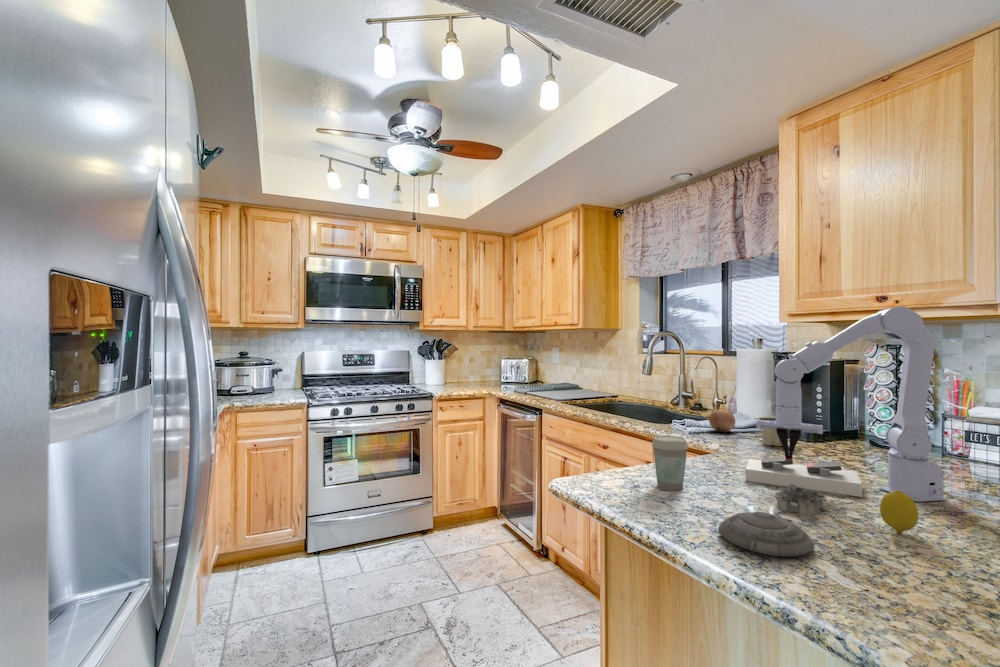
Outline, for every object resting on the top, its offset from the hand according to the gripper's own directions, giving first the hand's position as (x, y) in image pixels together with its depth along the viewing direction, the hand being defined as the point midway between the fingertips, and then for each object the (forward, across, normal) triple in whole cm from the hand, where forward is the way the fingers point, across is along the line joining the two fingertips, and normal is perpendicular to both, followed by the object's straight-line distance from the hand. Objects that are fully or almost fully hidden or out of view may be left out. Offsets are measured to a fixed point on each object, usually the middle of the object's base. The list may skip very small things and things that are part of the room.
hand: (788, 458), depth 122 cm
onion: (+6, -23, +61) cm, 65 cm away
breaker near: (+2, +8, 0) cm, 8 cm away
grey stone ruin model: (+6, +2, -21) cm, 22 cm away
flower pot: (+6, -5, +46) cm, 47 cm away
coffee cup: (+6, -25, -22) cm, 34 cm away
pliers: (+6, +9, +20) cm, 23 cm away
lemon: (+6, +18, -28) cm, 33 cm away
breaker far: (+2, -2, 0) cm, 3 cm away
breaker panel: (+6, +2, 0) cm, 6 cm away
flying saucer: (+6, -4, -46) cm, 46 cm away
